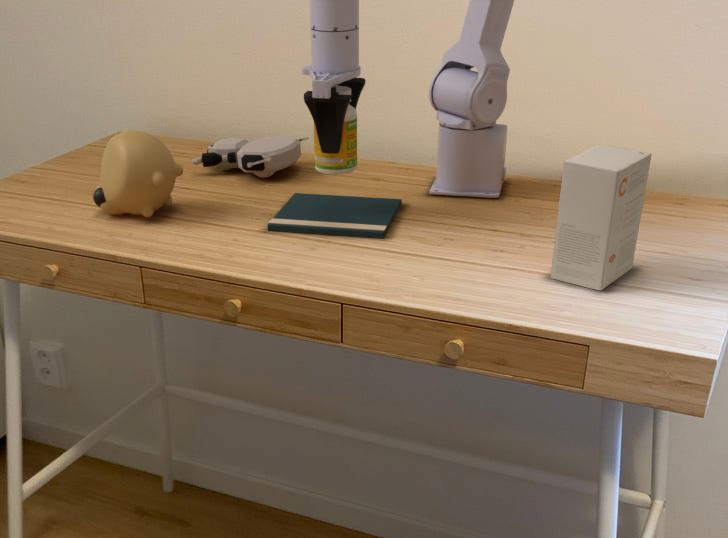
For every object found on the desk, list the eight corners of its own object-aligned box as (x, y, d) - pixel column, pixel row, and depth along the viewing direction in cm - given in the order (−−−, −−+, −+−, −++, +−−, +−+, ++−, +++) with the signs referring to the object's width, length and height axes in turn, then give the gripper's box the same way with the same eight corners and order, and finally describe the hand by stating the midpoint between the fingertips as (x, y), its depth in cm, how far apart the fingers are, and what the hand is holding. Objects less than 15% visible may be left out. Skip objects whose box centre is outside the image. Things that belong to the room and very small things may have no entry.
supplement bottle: (353, 176, 115) (352, 94, 110) (311, 174, 116) (308, 93, 111) (360, 164, 120) (360, 84, 114) (319, 162, 121) (317, 83, 115)
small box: (581, 256, 108) (598, 142, 101) (633, 269, 105) (654, 152, 97) (548, 278, 103) (562, 159, 96) (600, 292, 99) (620, 170, 92)
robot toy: (189, 182, 138) (277, 185, 132) (184, 150, 136) (273, 153, 129) (230, 160, 147) (314, 162, 141) (226, 130, 145) (312, 132, 138)
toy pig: (159, 226, 130) (105, 170, 129) (205, 167, 123) (148, 107, 122) (120, 248, 123) (63, 188, 121) (166, 187, 115) (105, 122, 114)
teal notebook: (401, 204, 125) (402, 198, 124) (383, 238, 114) (383, 231, 114) (294, 198, 128) (294, 192, 127) (267, 230, 118) (267, 223, 117)
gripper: (317, 17, 115) (319, 129, 123) (285, 38, 104) (289, 160, 111) (372, 18, 114) (371, 132, 121) (346, 39, 102) (346, 163, 110)
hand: (336, 146), depth 116 cm, fingers closed on supplement bottle, 5 cm apart
